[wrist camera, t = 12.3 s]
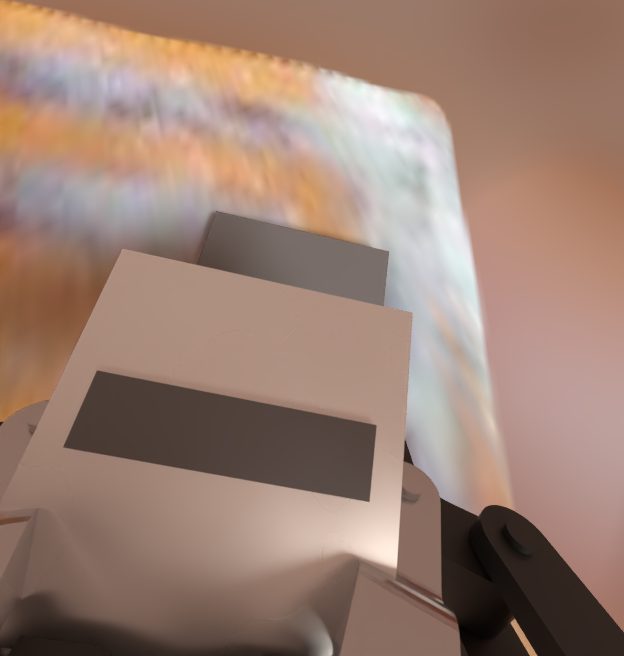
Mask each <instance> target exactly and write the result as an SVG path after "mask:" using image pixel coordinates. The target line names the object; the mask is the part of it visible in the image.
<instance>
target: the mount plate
mask: <svg viewBox="0 0 624 656" xmlns="http://www.w3.org/2000/svg"><path fill="white" fill-rule="evenodd" d="M388 256H389V251H384V250H380V249H376V248H372V247H367V246H363V245H359V244H354V243H350V242H346V241H342V240H337V239H333V238H329V237H325V236H320V235H316V234H312V233H307V232H303V231H299V230H295V229H290V228H286V227H282V226H278V225H273V224H269V223H265V222H260V221H256V220H252V219H248V218H243V217H239V216H235V215H231V214H226V213H222V212H218V211H216V214H215V217H214V219H213V222H212V225H211V228H210V230H209V233H208V236H207V239H206V242H205V244H204V247H203V250H202V253H201V255H200V258H199V261H198V264H197V265H199V266H204V267H208V268H213V269H217V270H222V271H226V272H231V273H235V274H240V275H244V276H249V277H253V278H258V279H262V280H267V281H271V282H276V283H280V284H285V285H289V286H294V287H298V288H303V289H307V290H312V291H316V292H321V293H325V294H330V295H334V296H339V297H344V298H348V299H353V300H357V301H362V302H366V303H371V304H375V305H380V306H384V296H385V286H386V276H387V266H388Z"/></svg>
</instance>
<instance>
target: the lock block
mask: <svg viewBox="0 0 624 656" xmlns="http://www.w3.org/2000/svg"><path fill="white" fill-rule="evenodd" d="M411 328H412V313H411V312H407V311H402V310H398V309H393V308H389V307H384V306H380V305H375V304H371V303H366V302H362V301H357V300H353V299H348V298H344V297H339V296H334V295H330V294H325V293H321V292H316V291H312V290H307V289H303V288H298V287H294V286H289V285H285V284H280V283H276V282H271V281H267V280H262V279H258V278H253V277H249V276H244V275H240V274H235V273H231V272H226V271H222V270H217V269H213V268H208V267H204V266H199V265H195V264H190V263H186V262H181V261H177V260H172V259H168V258H163V257H159V256H154V255H150V254H145V253H141V252H136V251H132V250H127V249H122V251H121V253H120V255H119V257H118V259H117V261H116V263H115V265H114V267H113V269H112V272H111V274H110V276H109V278H108V280H107V282H106V284H105V286H104V288H103V290H102V292H101V294H100V297H99V299H98V301H97V303H96V305H95V307H94V309H93V311H92V313H91V315H90V317H89V319H88V321H87V324H86V326H85V328H84V330H83V332H82V334H81V336H80V338H79V340H78V342H77V344H76V346H75V349H74V351H73V353H72V355H71V357H70V359H69V361H68V363H67V365H66V367H65V369H64V371H63V374H62V376H61V378H60V380H59V382H58V384H57V386H56V388H55V390H54V392H53V394H52V396H51V398H50V401H49V403H48V405H47V407H46V409H45V411H44V413H43V415H42V417H41V419H40V421H39V423H38V426H37V428H36V430H35V432H34V434H33V436H32V438H31V440H30V442H29V444H28V446H27V448H26V450H25V453H24V455H23V457H22V459H21V461H20V463H19V465H18V467H17V469H16V471H15V473H14V475H13V478H12V480H11V482H10V484H9V486H8V488H7V490H6V492H5V494H4V496H3V498H2V500H1V503H0V511H8V510H18V509H29V508H38V514H37V519H36V524H35V530H34V535H33V540H32V546H31V551H30V556H29V562H28V567H27V572H26V578H25V583H24V588H23V593H22V599H21V601H20V602H18V603H17V604H16V605H15V606H14V608H13V609H12V610H11V612H10V613H9V615H8V617H7V618H6V620H5V622H4V624H3V626H2V628H1V630H0V648H7V649H12V648H13V646H14V645H15V643H16V642H17V641H18V639H19V638H20V636H28V637H36V638H43V639H51V640H58V641H65V642H73V643H80V644H87V645H95V646H97V647H99V648H101V649H102V650H104V651H106V652H107V653H109V654H111V655H112V656H332V652H333V643H334V640H335V637H336V634H337V630H338V627H339V624H340V621H341V618H342V615H343V612H344V609H345V606H346V602H347V599H348V596H349V593H350V590H351V587H352V584H353V581H354V577H355V574H356V571H357V568H358V565H359V562H360V560H362V561H364V562H366V563H368V564H370V565H372V566H374V567H376V568H378V569H380V570H382V571H384V572H386V573H388V574H390V575H392V576H394V577H395V578H396V573H397V557H398V540H399V524H400V508H401V491H402V475H403V459H404V442H405V426H406V410H407V393H408V377H409V361H410V345H411Z"/></svg>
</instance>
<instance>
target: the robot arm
mask: <svg viewBox="0 0 624 656" xmlns="http://www.w3.org/2000/svg"><path fill="white" fill-rule="evenodd" d="M49 401H50V400H47V401H42V402H38V403H35V404H32V405H30V406H27V407H25V408H23V409H21V410H19V411H17V412H16V413H14V414H12V415H11V416H10V417H9V418H7V419H6V420H5V421H4V422H0V503H1V500H2V498H3V496H4V494H5V492H6V490H7V488H8V486H9V484H10V482H11V480H12V478H13V475H14V473H15V471H16V469H17V467H18V465H19V463H20V461H21V459H22V457H23V455H24V453H25V450H26V448H27V446H28V444H29V442H30V440H31V438H32V436H33V434H34V432H35V430H36V428H37V426H38V423H39V421H40V419H41V417H42V415H43V413H44V411H45V409H46V407H47V405H48V403H49ZM37 514H38V508H29V509H18V510H8V511H0V630H1V628H2V626H3V624H4V622H5V620H6V618H7V617H8V615H9V613H10V612H11V610H12V609H13V608H14V606H15V605H16V604H17V603H18V602H20V601H21V599H22V593H23V588H24V583H25V578H26V572H27V567H28V562H29V556H30V551H31V546H32V540H33V535H34V530H35V524H36V519H37ZM514 619H516V621H517V623H518V624H519V626H520V628H521V629H522V631H523V632H524V634H525V636H526V637H527V639H528V641H529V642H530V644H531V646H532V647H533V649H534V651H535V652H536V654H537V655H538V656H624V632H623V631H622V630H621V629H620V627H619V626H618V625H617V624H616V623H615V621H614V620H613V619H612V618H611V617H610V615H609V614H608V613H607V612H606V610H605V609H604V608H603V607H602V606H601V604H600V603H599V602H598V601H597V600H596V598H595V597H594V596H593V595H592V593H591V592H590V591H589V590H588V589H587V587H586V586H585V585H584V584H583V583H582V581H581V580H580V579H579V578H578V577H577V575H576V574H575V573H574V572H573V571H572V569H571V568H570V567H569V566H568V564H567V563H566V562H565V561H564V560H563V558H562V557H561V556H560V555H559V554H558V552H557V551H556V550H555V549H554V548H553V546H552V545H551V544H550V543H549V542H548V540H547V539H546V538H545V537H544V535H543V534H542V533H541V532H540V531H539V530H538V529H537V528H536V527H535V526H534V525H533V524H532V523H531V522H529V521H528V520H527V519H526V518H524V517H523V516H521V515H519V514H518V513H516V512H515V511H513V510H511V509H509V508H506V507H503V506H498V505H491V506H487V507H485V508H484V510H483V511H482V512H481V514H480V515H479V516H476V515H474V514H472V513H470V512H468V511H466V510H464V509H462V508H459V507H457V506H455V505H453V504H451V503H449V502H447V501H445V500H443V499H442V498H440V496H439V492H438V490H437V488H436V486H435V485H434V483H433V482H432V481H431V479H430V478H429V477H428V476H427V475H426V474H425V473H424V472H423V471H421V470H420V469H418V468H417V467H415V466H414V464H413V462H412V459H411V456H410V453H409V450H408V447H407V444H406V441H405V442H404V459H403V475H402V491H401V508H400V524H399V540H398V557H397V573H396V578H395V577H394V576H392V575H390V574H388V573H386V572H384V571H382V570H380V569H378V568H376V567H374V566H372V565H370V564H368V563H366V562H364V561H362V560H360V562H359V565H358V568H357V571H356V574H355V577H354V581H353V584H352V587H351V590H350V593H349V596H348V599H347V602H346V606H345V609H344V612H343V615H342V618H341V621H340V624H339V627H338V630H337V634H336V637H335V640H334V643H333V652H332V656H530V655H529V654H528V652H527V650H526V649H525V647H524V645H523V644H522V642H521V640H520V639H519V637H518V635H517V633H516V632H515V630H514V628H513V627H512V625H511V622H512V621H513V620H514ZM0 656H112V655H111V654H109V653H107V652H106V651H104V650H102V649H101V648H99V647H97V646H95V645H87V644H80V643H73V642H65V641H58V640H51V639H43V638H36V637H28V636H20V638H19V639H18V641H17V642H16V643H15V645H14V646H13V648H12V649H7V648H0Z"/></svg>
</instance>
